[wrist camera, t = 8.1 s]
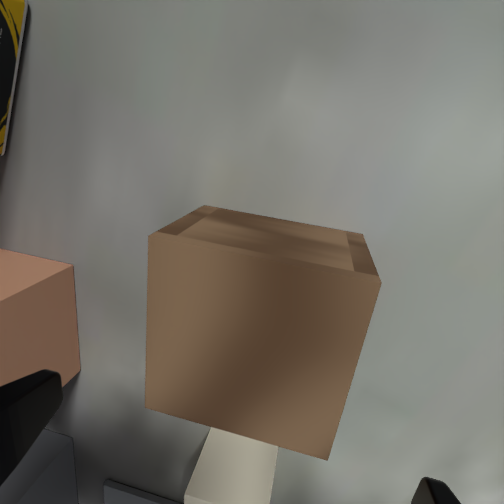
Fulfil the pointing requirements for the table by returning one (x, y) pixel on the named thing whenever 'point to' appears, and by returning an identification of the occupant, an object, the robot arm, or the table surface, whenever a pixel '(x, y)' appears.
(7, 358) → the terracotta block
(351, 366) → the box
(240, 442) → the cream cube
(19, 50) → the medicine bottle
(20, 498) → the grey box
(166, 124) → the table surface
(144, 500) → the slate pad
